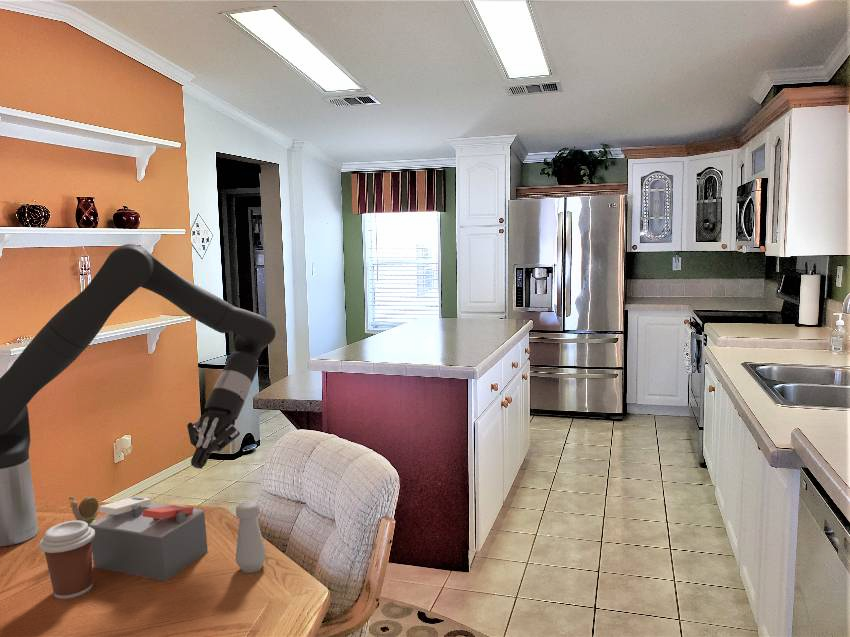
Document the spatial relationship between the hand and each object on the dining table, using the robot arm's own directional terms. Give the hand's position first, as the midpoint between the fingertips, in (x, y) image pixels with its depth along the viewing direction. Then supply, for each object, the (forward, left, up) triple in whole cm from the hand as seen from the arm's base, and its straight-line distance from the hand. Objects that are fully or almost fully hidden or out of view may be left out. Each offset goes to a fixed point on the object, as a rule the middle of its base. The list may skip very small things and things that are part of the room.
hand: (196, 466), depth 136 cm
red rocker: (0, -9, -6) cm, 11 cm away
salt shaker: (+17, -6, -17) cm, 25 cm away
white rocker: (-11, -9, -6) cm, 15 cm away
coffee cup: (-11, -22, -17) cm, 30 cm away
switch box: (-5, -9, -17) cm, 20 cm away
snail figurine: (-23, -8, -17) cm, 30 cm away
